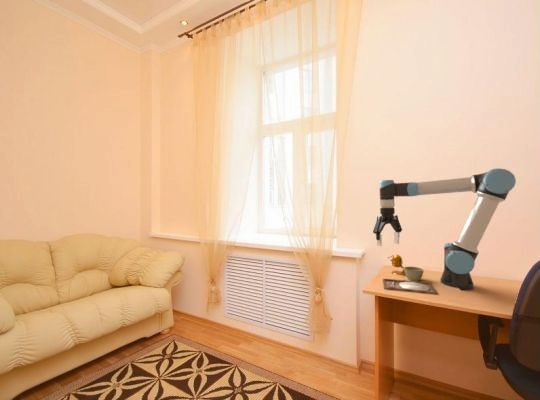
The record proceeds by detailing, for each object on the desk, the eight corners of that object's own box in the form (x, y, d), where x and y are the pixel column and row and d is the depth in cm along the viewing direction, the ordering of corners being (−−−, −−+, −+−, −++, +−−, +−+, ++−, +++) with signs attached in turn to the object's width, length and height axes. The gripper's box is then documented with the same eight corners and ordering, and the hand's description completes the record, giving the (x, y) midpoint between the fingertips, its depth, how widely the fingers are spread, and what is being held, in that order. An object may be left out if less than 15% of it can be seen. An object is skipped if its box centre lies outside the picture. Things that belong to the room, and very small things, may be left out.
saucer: (426, 284, 151) (426, 283, 151) (431, 293, 138) (431, 291, 138) (398, 282, 156) (398, 280, 156) (400, 290, 143) (400, 288, 143)
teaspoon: (391, 281, 156) (391, 281, 156) (395, 282, 155) (395, 281, 155) (389, 287, 147) (389, 286, 147) (393, 287, 146) (393, 286, 146)
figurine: (387, 271, 180) (387, 253, 180) (405, 272, 178) (405, 253, 178) (390, 275, 172) (390, 255, 172) (409, 276, 170) (409, 256, 170)
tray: (429, 285, 152) (430, 282, 152) (436, 295, 136) (436, 292, 136) (382, 281, 160) (382, 278, 160) (384, 290, 144) (384, 287, 144)
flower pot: (426, 284, 155) (426, 271, 154) (406, 283, 157) (406, 270, 156) (420, 278, 164) (420, 266, 164) (402, 277, 166) (402, 266, 166)
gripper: (397, 206, 166) (398, 241, 166) (365, 207, 156) (366, 245, 156) (408, 206, 159) (409, 243, 159) (376, 208, 149) (377, 247, 149)
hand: (388, 244), depth 157 cm, fingers open, 13 cm apart
